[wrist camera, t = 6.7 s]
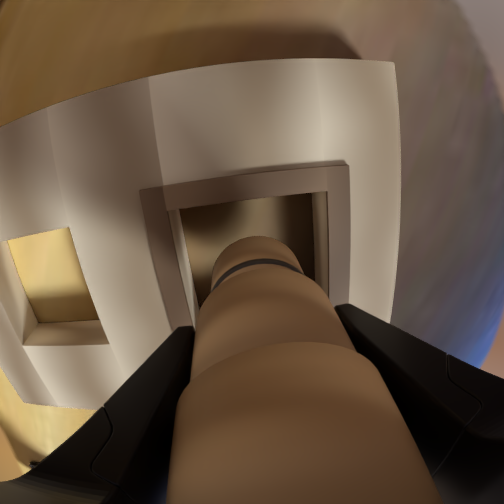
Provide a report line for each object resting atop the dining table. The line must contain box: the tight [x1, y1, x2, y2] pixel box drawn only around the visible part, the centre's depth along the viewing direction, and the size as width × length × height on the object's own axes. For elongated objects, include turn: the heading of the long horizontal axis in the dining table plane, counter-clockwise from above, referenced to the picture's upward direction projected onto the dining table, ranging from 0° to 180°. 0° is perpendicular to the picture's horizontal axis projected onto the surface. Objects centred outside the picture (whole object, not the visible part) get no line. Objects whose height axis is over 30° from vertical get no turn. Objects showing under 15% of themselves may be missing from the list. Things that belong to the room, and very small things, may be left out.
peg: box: [166, 236, 444, 504], centre depth 7 cm, size 4×4×9 cm
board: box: [0, 58, 401, 410], centre depth 12 cm, size 20×14×2 cm
